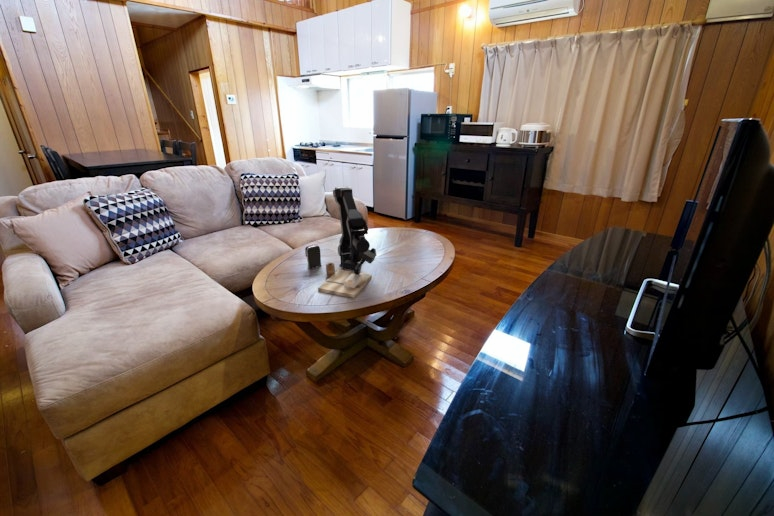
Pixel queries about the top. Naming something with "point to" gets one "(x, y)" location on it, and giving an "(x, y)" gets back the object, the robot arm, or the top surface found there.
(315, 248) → the battery charger
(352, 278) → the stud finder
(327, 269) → the brown knobbed cylinder
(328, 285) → the plank
